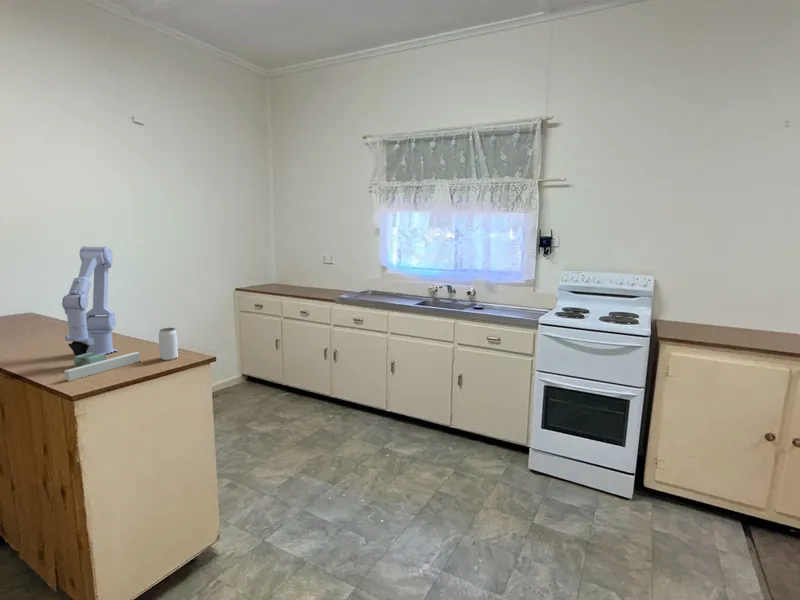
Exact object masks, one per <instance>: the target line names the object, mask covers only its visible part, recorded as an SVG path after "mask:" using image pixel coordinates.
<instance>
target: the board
mask: <svg viewBox="0 0 800 600" xmlns="http://www.w3.org/2000/svg"><path fill="white" fill-rule="evenodd" d="M141 358H142V357H141V352H138V351H136V352H135V351H133V352H131V353H127V354H123V355H120V356H119V355H118V356H116V357H112V358H108V359H107V358H106V360H103V361H100V362H96V363H92V364H88V365H84V366H80V367H76V368H75V367H73V368H69V369H65V370H63V371H64V373H63V374H64V380H65V381H66V380H73V379H77V378H80V379H82V378H81V377H84V378H86V377H85V376H87V377H89V376H88V375H91V376H93V375H92V374H94V375H97V374H96V373H98V374H100V373H99V372H102V373H104V372H103V371H105V372H107V371H106V370H109V369H112V368H116V367H119V368H121V367H120V366H123V367H125V366H124V365H126V366H128V365H127V364H130V365H132V364H131V363H133V364H135V363H134V362H137V361H141V362H142V359H141ZM137 363H138V362H137ZM116 369H117V368H116ZM112 370H113V369H112ZM109 371H110V370H109ZM77 380H78V379H77ZM73 381H74V380H73Z"/></svg>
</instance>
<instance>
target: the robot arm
mask: <svg viewBox="0 0 800 600" xmlns="http://www.w3.org/2000/svg"><path fill="white" fill-rule="evenodd" d="M79 258H80V261H81V264H80V268H79V272H78V273H79V274H78V276H77V277H75V278H73V281H72V284H71V286H70V289H69V292H68V294H66V295H64V296H63V297H62V303H61V305H62V308H63V311H64V314H65V315H66V317H67V326H68V334H66V335H64V341H65V342H71V343H68V347H69V348H70V349H71V350H72V352H73V354H74V356H78V355H82V354H85V353H89V352H90V353H98V354H105V355H108V354H112V353H115V352H114V351H116V352H118V351H119V350H118V349H115V348H114V347H113V344H114V343H113V335H112V331H114V329H115V328H116V327H117V326H116V324H117V322H116V314H115V312H113V311H112V310H111V309H109V308H108V297H109V295H108V289H109V269H110V268H112V267H113V252H112V250H111V248H110V247H109V246H81V247H80V249H79ZM92 274H93V275H92ZM92 276H93V291H92V308H91V309H89V310H88V311H87V312H86V309H87V308H88V305H89V295H88V294H89V292H90V288H91V287H92V286H91V285H92V282H91V281H90V279H91V277H92ZM111 352H112V353H111ZM107 353H108V354H107Z"/></svg>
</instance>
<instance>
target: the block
mask: <svg viewBox="0 0 800 600" xmlns="http://www.w3.org/2000/svg"><path fill="white" fill-rule="evenodd" d="M103 360H107V358H106V354H98V353H90V352H89V353H85V354H82V355H78V356H75V355H74V356H73V361H74V368H76V367H80V366H84V365H88V364H92V363H96V362H100V361H103Z"/></svg>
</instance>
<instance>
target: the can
mask: <svg viewBox="0 0 800 600" xmlns="http://www.w3.org/2000/svg"><path fill="white" fill-rule="evenodd" d="M158 345H159V355H160V356H159V357H160V360H161V359H163V360H162V361H170V360H169V359H174V358H176V357H177V358H178V357H179V349H178V346H179V345H178V334H177V331H176V327H175V328H174V327H165V328H160V329H159V332H158ZM177 358H176V359H177ZM174 360H175V359H174Z"/></svg>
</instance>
